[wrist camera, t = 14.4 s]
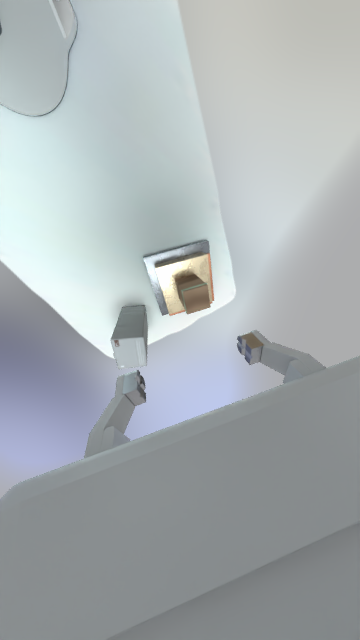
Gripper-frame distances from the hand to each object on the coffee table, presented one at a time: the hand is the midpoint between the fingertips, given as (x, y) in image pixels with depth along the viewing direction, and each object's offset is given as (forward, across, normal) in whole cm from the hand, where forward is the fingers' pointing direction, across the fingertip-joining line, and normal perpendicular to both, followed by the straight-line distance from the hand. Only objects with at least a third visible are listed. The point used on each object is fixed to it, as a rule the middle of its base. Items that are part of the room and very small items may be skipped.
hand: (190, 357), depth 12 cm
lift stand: (+32, -6, +6) cm, 33 cm away
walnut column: (+26, -6, +6) cm, 27 cm away
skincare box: (+32, +10, +13) cm, 36 cm away
